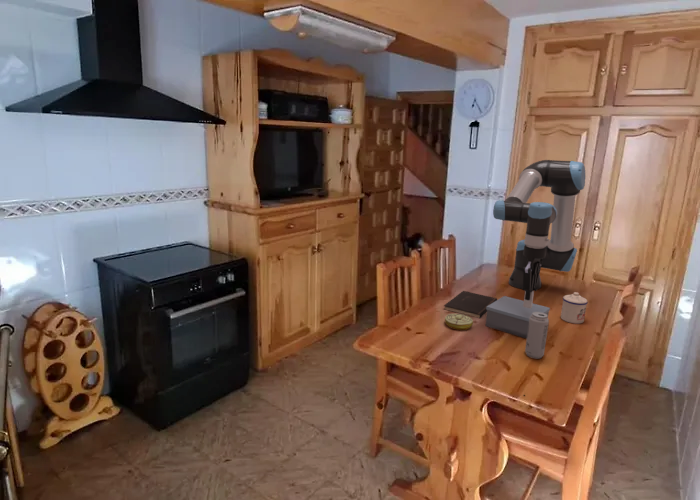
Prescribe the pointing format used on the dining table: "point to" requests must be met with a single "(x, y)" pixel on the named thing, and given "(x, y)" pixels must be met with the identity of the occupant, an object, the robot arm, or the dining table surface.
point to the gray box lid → (515, 308)
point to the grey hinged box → (507, 323)
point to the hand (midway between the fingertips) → (527, 307)
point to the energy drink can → (537, 335)
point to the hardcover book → (470, 304)
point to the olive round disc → (458, 321)
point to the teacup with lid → (573, 308)
